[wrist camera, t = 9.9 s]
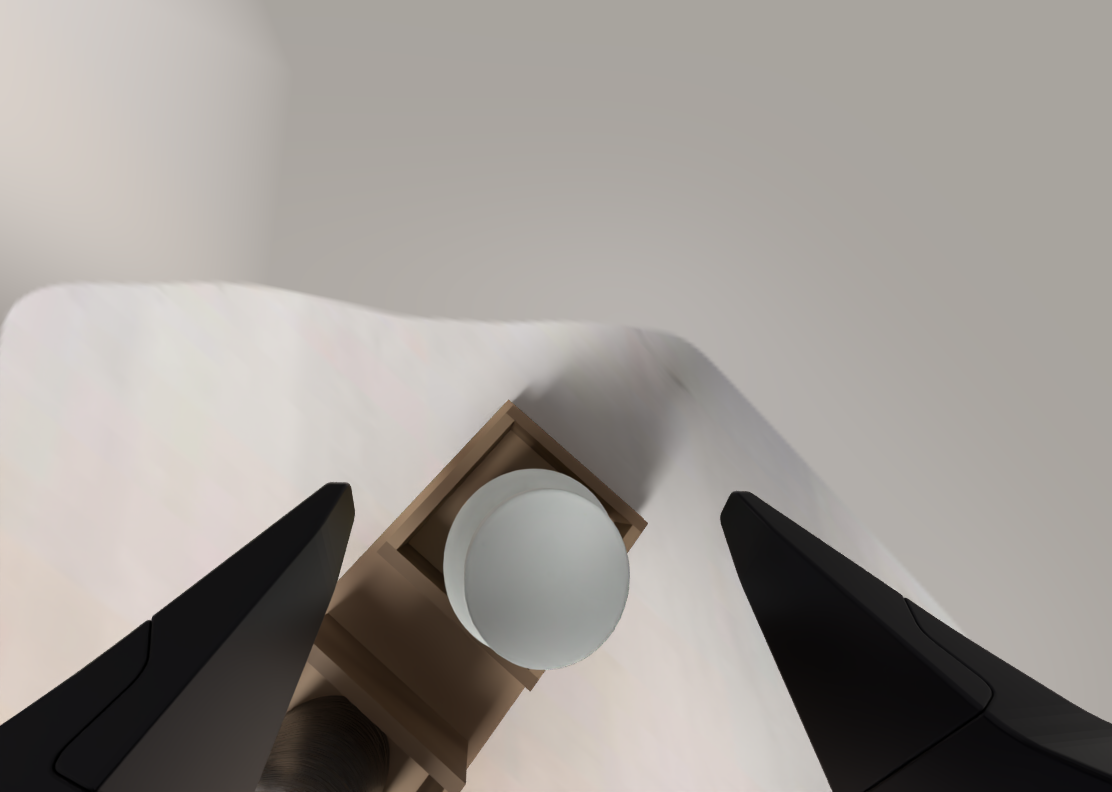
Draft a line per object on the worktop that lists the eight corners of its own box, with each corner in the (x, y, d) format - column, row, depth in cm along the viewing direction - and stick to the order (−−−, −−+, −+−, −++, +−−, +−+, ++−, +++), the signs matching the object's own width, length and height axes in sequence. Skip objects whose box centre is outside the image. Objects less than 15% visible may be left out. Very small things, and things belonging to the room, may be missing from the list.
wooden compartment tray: (506, 406, 21) (512, 386, 18) (633, 517, 21) (666, 521, 17) (155, 781, 15) (48, 875, 12) (326, 943, 15) (273, 1094, 11)
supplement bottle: (432, 559, 18) (377, 627, 8) (498, 456, 19) (511, 418, 10) (535, 622, 18) (591, 757, 9) (591, 514, 19) (690, 529, 10)
